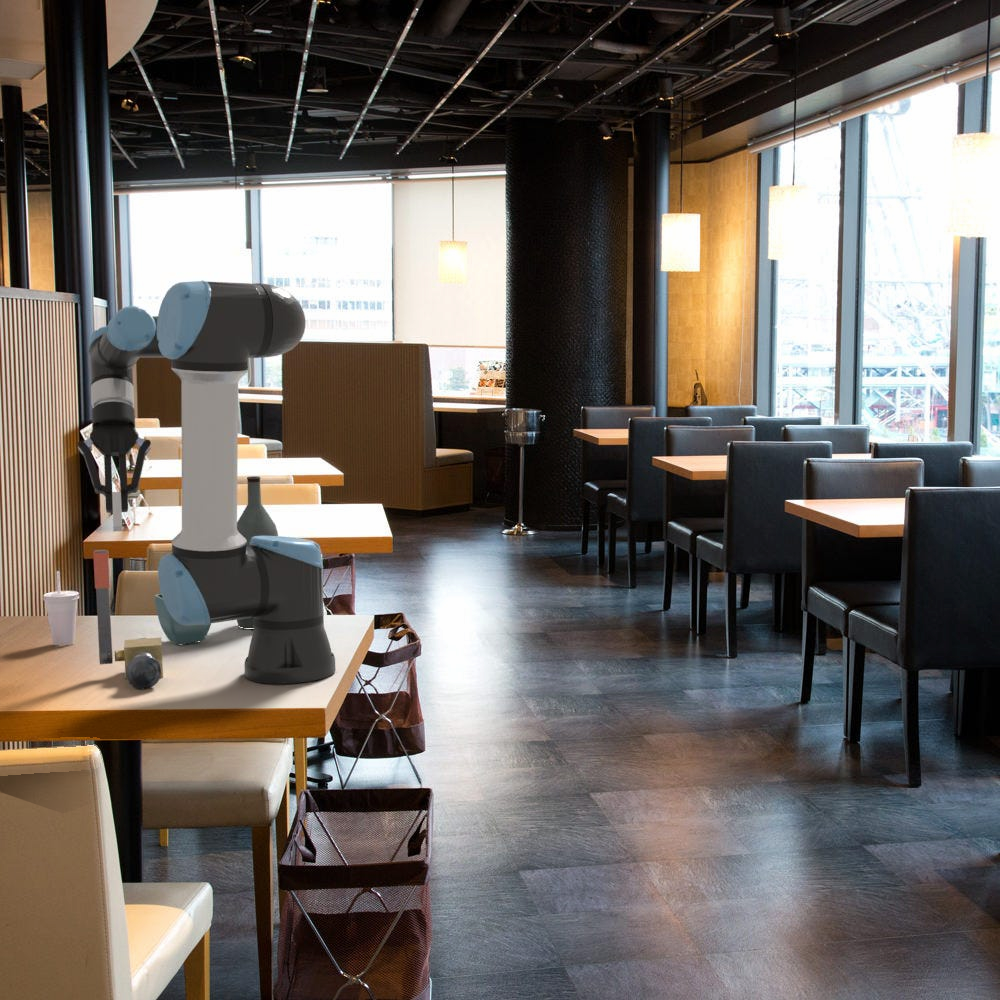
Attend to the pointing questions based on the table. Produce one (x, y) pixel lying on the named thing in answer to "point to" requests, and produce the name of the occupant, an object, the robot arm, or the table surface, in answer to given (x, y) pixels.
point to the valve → (142, 661)
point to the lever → (103, 605)
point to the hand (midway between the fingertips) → (117, 528)
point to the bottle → (254, 525)
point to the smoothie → (62, 614)
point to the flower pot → (178, 626)
